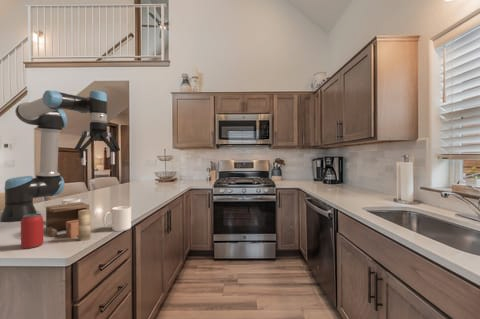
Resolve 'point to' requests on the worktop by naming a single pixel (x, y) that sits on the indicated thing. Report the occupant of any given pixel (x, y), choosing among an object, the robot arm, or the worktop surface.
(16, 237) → the worktop surface
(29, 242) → the beer can
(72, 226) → the tethered cylinder
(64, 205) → the cubby shelf
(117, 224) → the cup
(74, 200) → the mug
